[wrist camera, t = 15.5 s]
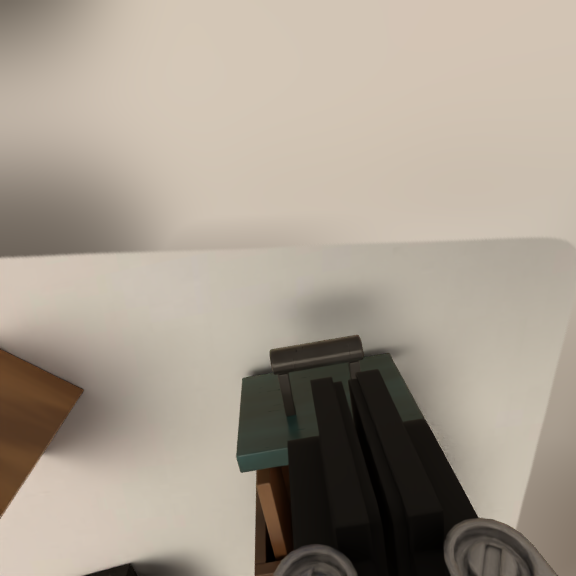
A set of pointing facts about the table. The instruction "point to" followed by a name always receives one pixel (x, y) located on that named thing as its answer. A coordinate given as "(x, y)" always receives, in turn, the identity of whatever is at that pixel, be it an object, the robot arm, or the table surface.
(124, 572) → the handheld gaming console
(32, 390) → the stand
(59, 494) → the table surface
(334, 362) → the drawer
